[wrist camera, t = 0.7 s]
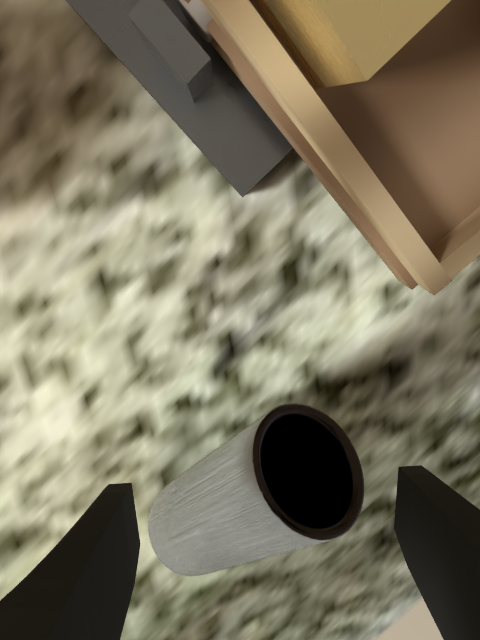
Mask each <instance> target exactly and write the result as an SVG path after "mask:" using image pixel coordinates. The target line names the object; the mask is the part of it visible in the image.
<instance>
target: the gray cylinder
mask: <svg viewBox="0 0 480 640" xmlns="http://www.w3.org/2000/svg"><path fill="white" fill-rule="evenodd" d="M363 498H364V479H363V472H362V468H361V464H360V461H359V458H358V456H357V453H356V451H355V449H354V447H353V445H352V443H351V441H350V440H349V438H348V437H347V435H346V434H345V433H344V431H343V430H342V429H341V428H340V426H339V425H338V424H337V423H336V422H335V421H334V420H332V419H331V418H330V417H329V416H327V415H326V414H324V413H323V412H321V411H320V410H318V409H316V408H313V407H311V406H308V405H304V404H298V403H290V404H284V405H280V406H278V407H276V408H274V409H272V410H271V411H269V412H268V413H266V414H265V415H263V416H262V417H261V418H259V419H258V420H256V421H255V422H254V423H252V424H251V425H249V426H248V427H247V428H245V429H244V430H243V431H241V432H240V433H238V434H237V435H236V436H234V437H233V438H231V439H230V440H229V441H227V442H226V443H224V444H223V445H222V446H220V447H219V448H218V449H216V450H215V451H213V452H212V453H211V454H209V455H208V456H206V457H205V458H204V459H202V460H201V461H199V462H198V463H197V464H195V465H194V466H192V467H191V468H190V469H188V470H187V471H186V472H184V473H183V474H181V475H180V476H179V477H177V478H176V479H174V480H173V481H172V482H170V483H169V484H168V485H167V486H166V487H165V488H164V489H163V490H162V491H161V492H160V493H159V494H158V496H157V497H156V499H155V500H154V502H153V505H152V507H151V510H150V514H149V522H148V531H149V537H150V541H151V545H152V547H153V550H154V552H155V554H156V555H157V557H158V558H159V560H160V561H161V562H162V563H163V564H164V565H165V566H166V567H167V568H169V569H170V570H172V571H173V572H175V573H178V574H181V575H185V576H198V575H204V574H208V573H212V572H216V571H219V570H223V569H227V568H230V567H234V566H238V565H241V564H245V563H249V562H253V561H256V560H260V559H264V558H267V557H271V556H275V555H278V554H282V553H286V552H289V551H293V550H297V549H301V548H304V547H308V546H312V545H315V544H319V543H323V542H326V541H330V540H333V539H336V538H338V537H340V536H342V535H343V534H345V533H346V532H347V531H348V530H349V529H350V528H351V527H352V526H353V525H354V523H355V522H356V520H357V518H358V516H359V514H360V511H361V508H362V504H363Z"/></svg>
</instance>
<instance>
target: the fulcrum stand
mask: <svg viewBox="0 0 480 640" xmlns="http://www.w3.org/2000/svg"><path fill="white" fill-rule="evenodd" d="M66 1H67V2H68V3H69V4H70V5H71V6H72V7H73V8H74V9H75V11H76V12H77V13H78V14H79V15H80V16H81V17H82V18H83V20H84V21H85V22H86V23H87V24H88V25H89V26H90V27H91V29H92V30H93V31H94V32H95V33H96V34H97V35H98V36H99V37H100V39H101V40H102V41H103V42H104V43H105V44H106V45H107V46H108V48H109V49H110V50H111V51H112V52H113V53H114V54H115V55H116V56H117V58H118V59H119V60H120V61H121V62H122V63H123V64H124V65H125V67H126V68H127V69H128V70H129V71H130V72H131V73H132V74H133V75H134V77H135V78H136V79H137V80H138V81H139V82H140V83H141V84H142V86H143V87H144V88H145V89H146V90H147V91H148V92H149V93H150V95H151V96H152V97H153V98H154V99H155V100H156V101H157V102H158V103H159V105H160V106H161V107H162V108H163V109H164V110H165V111H166V112H167V114H168V115H169V116H170V117H171V118H172V119H173V120H174V121H175V122H176V124H177V125H178V126H179V127H180V128H181V129H182V130H183V131H184V133H185V134H186V135H187V136H188V137H189V138H190V139H191V140H192V141H193V143H194V144H195V145H196V146H197V147H198V148H199V149H200V150H201V152H202V153H203V154H204V155H205V156H206V157H207V158H208V159H209V161H210V162H211V163H212V164H213V165H214V166H215V167H216V168H217V169H218V171H219V172H220V173H221V174H222V175H223V176H224V177H225V178H226V180H227V181H228V182H229V183H230V184H231V185H232V186H233V187H234V188H235V190H236V191H237V192H238V193H239V194H240V195H241V196H242V197H243V196H244V195H245V194H246V193H247V192H249V191H250V190H251V189H252V188H253V187H254V186H255V185H256V184H257V183H258V182H259V181H260V180H261V179H262V178H263V177H264V176H265V175H266V174H267V173H268V172H269V171H270V170H271V169H272V168H273V167H275V166H276V165H277V164H278V163H279V162H280V161H281V160H282V159H283V158H284V157H285V156H286V155H287V154H288V153H289V152H290V151H291V150H292V149H293V146H292V145H291V144H290V143H289V141H288V140H287V139H286V138H285V136H284V135H283V134H282V133H281V131H280V130H279V129H278V128H277V126H276V125H275V124H274V122H273V121H272V120H271V119H270V117H269V116H268V115H267V114H266V112H265V111H264V110H263V109H262V107H261V106H260V105H259V104H258V102H257V101H256V100H255V98H254V97H253V96H252V95H251V93H250V92H249V91H248V90H247V88H246V87H245V86H244V85H243V83H242V82H241V81H240V80H239V78H238V77H237V76H236V74H235V73H234V72H233V71H232V69H231V68H230V67H229V66H228V64H227V63H226V62H225V61H224V59H223V58H222V57H221V56H220V54H219V53H218V52H217V50H216V49H215V48H214V47H213V45H212V44H211V43H210V42H207V41H206V40H204V39H203V38H202V37H201V36H200V34H199V33H198V32H197V31H196V30H195V29H194V27H193V26H192V25H191V24H190V22H189V21H188V20H187V18H186V17H185V15H184V14H183V12H182V11H181V9H180V7H179V5H178V3H177V0H66Z"/></svg>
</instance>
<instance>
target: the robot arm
mask: <svg viewBox="0 0 480 640" xmlns="http://www.w3.org/2000/svg"><path fill="white" fill-rule="evenodd" d="M394 529H395V532H396V535H397V538H398V541H399V544H400V547H401V550H402V552H403V555H404V558H405V561H406V563H407V566H408V568H409V570H410V572H411V574H412V576H413V578H414V581H415V583H416V585H417V587H418V589H419V591H420V593H421V595H422V597H423V599H424V601H425V603H426V605H427V607H428V609H429V611H430V613H431V615H432V617H433V619H434V621H435V623H436V625H437V627H438V629H439V631H440V633H441V635H442V637H443V639H444V640H480V510H479V509H478V508H477V507H475V506H474V505H473V504H471V503H470V502H469V501H467V500H466V499H465V498H463V497H462V496H461V495H459V494H458V493H457V492H456V491H454V490H453V489H452V488H450V487H449V486H448V485H446V484H445V483H444V482H443V481H441V480H440V479H439V478H437V477H436V476H435V475H433V474H432V473H431V472H429V471H428V470H427V469H425V468H424V467H423V466H405V467H399V470H398V483H397V496H396V509H395V522H394ZM139 549H140V539H139V532H138V525H137V518H136V511H135V504H134V497H133V490H132V483H122V484H109V485H108V486H107V487H106V488H105V489H104V490H103V491H102V492H101V494H100V495H99V496H98V497H97V498H96V500H95V501H94V502H93V503H92V504H91V506H90V507H89V508H88V509H87V510H86V512H85V513H84V514H83V515H82V516H81V518H80V519H79V520H78V521H77V522H76V524H75V525H74V526H73V527H72V528H71V529H70V530H69V531H68V533H67V534H66V535H65V536H64V537H63V538H62V539H61V541H60V542H59V543H58V544H57V545H56V546H55V547H54V548H53V549H52V550H51V552H50V553H49V554H48V555H47V556H46V557H45V558H44V559H43V560H42V561H41V562H40V563H39V564H38V565H37V566H36V567H35V568H34V569H33V570H32V571H31V572H30V573H29V574H28V575H27V576H26V577H25V578H24V579H23V580H22V581H21V582H20V583H19V584H18V585H17V586H16V587H15V588H14V589H13V590H12V591H11V592H9V593H8V594H7V595H6V596H5V597H4V598H3V599H2V600H1V601H0V640H120V637H121V633H122V629H123V626H124V622H125V618H126V614H127V611H128V607H129V603H130V599H131V595H132V591H133V587H134V583H135V577H136V570H137V564H138V557H139Z"/></svg>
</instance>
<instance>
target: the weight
mask: <svg viewBox="0 0 480 640" xmlns="http://www.w3.org/2000/svg"><path fill="white" fill-rule="evenodd" d="M254 1H255V2H256V4H257V5H258V7H259V8H260V10H261V11H262V12H263V14H264V15H265V17H266V18H267V19H268V21H269V22H270V24H271V25H272V26H273V28H274V29H275V31H276V32H277V33H278V35H279V36H280V38H281V39H282V40H283V42H284V43H285V45H286V46H287V48H288V49H289V50H290V52H291V53H292V55H293V56H294V57H295V59H296V60H297V62H298V63H299V64H300V66H301V67H302V69H303V70H304V71H305V73H306V74H307V76H308V77H309V78H310V80H311V81H312V83H313V84H314V86H315V87H316V88H317V89H320V88H326V87H332V86H338V85H344V84H350V83H356V82H362V81H368V80H369V79H370V78H371V77H372V76H373V75H374V74H375V73H376V72H377V71H378V70H379V69H380V68H381V67H382V66H383V65H384V64H385V63H386V62H387V61H389V60H390V59H391V58H392V57H393V56H394V55H395V54H396V53H397V52H398V51H399V50H400V49H401V48H402V47H403V46H404V45H405V44H406V43H407V42H408V41H409V40H410V39H411V38H413V37H414V36H415V35H416V34H417V33H418V32H419V31H420V30H421V29H422V28H423V27H424V26H425V25H426V24H427V23H428V22H429V21H430V20H431V19H432V18H433V17H434V16H435V15H436V14H438V13H439V12H440V11H441V10H442V9H443V8H444V7H445V6H446V5H447V4H448V3H449V2H450V1H451V0H254Z"/></svg>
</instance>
